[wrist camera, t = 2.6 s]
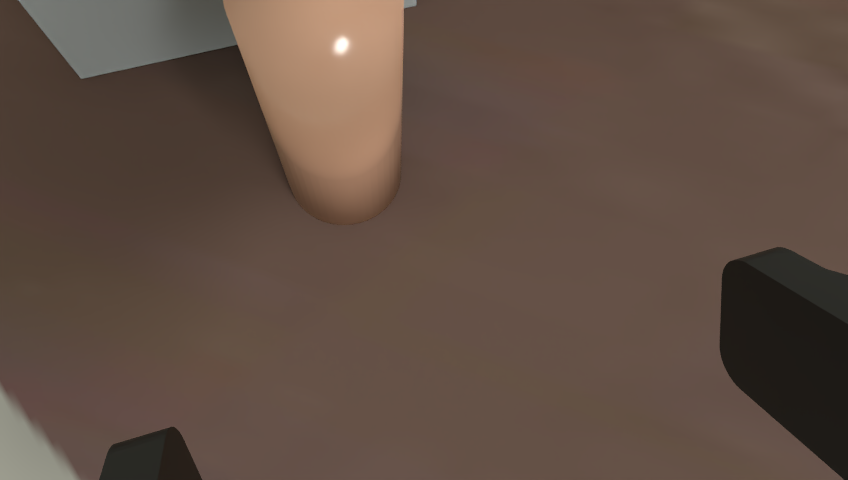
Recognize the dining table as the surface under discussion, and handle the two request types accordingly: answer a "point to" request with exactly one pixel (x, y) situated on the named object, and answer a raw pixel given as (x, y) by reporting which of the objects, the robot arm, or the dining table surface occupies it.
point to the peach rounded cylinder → (329, 97)
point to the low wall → (132, 30)
